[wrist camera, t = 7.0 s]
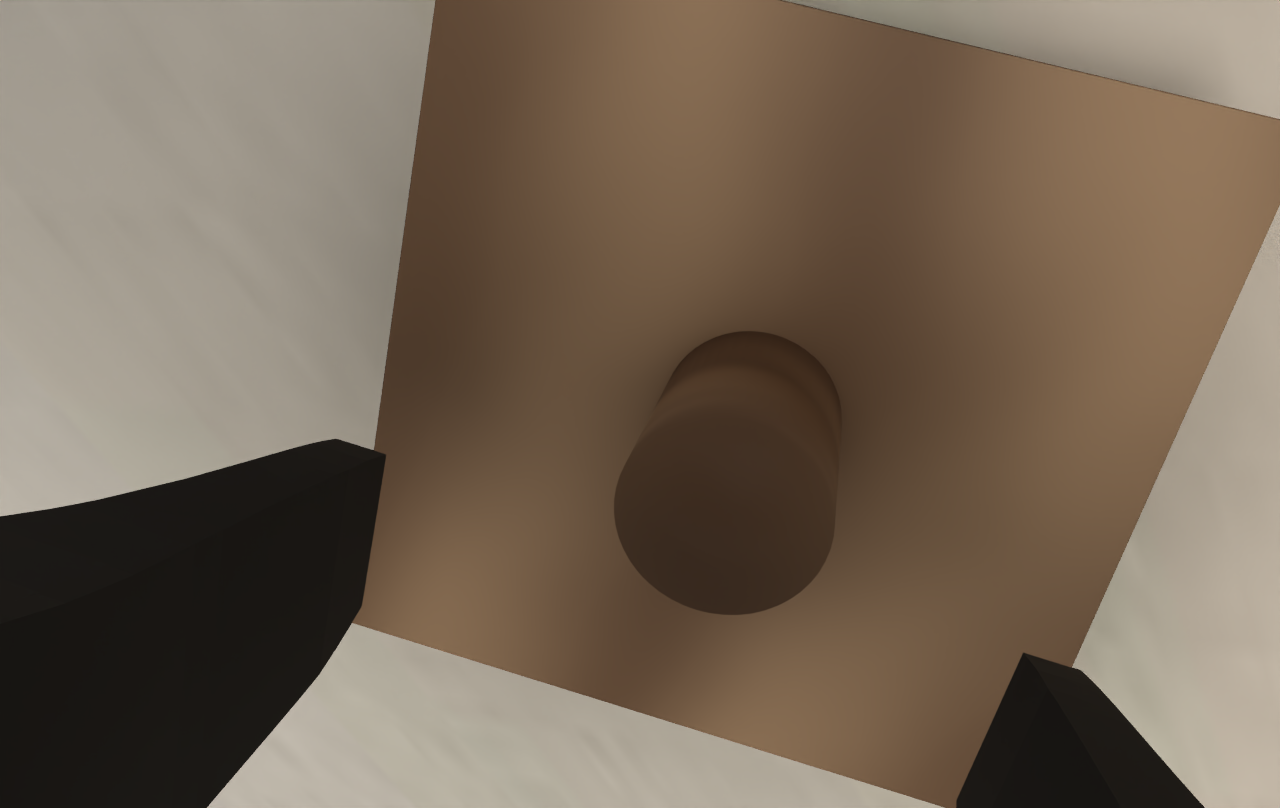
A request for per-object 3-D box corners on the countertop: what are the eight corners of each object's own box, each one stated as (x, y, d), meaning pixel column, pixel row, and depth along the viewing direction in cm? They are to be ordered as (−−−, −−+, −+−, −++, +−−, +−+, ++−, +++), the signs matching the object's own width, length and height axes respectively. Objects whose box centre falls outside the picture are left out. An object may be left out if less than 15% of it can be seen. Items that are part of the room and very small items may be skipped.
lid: (371, 597, 21) (247, 746, 17) (467, -75, 16) (330, -101, 12) (995, 789, 20) (1029, 1002, 15) (1288, 121, 15) (1450, 167, 11)
